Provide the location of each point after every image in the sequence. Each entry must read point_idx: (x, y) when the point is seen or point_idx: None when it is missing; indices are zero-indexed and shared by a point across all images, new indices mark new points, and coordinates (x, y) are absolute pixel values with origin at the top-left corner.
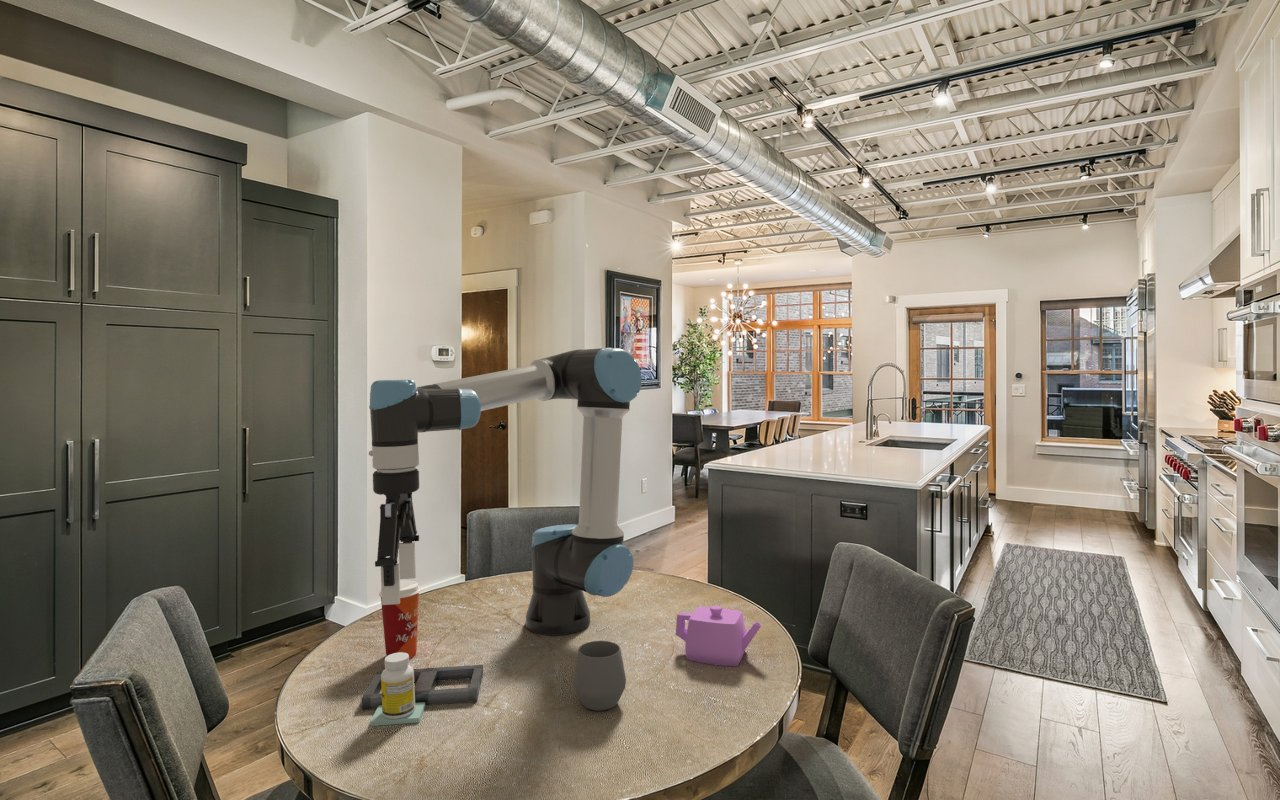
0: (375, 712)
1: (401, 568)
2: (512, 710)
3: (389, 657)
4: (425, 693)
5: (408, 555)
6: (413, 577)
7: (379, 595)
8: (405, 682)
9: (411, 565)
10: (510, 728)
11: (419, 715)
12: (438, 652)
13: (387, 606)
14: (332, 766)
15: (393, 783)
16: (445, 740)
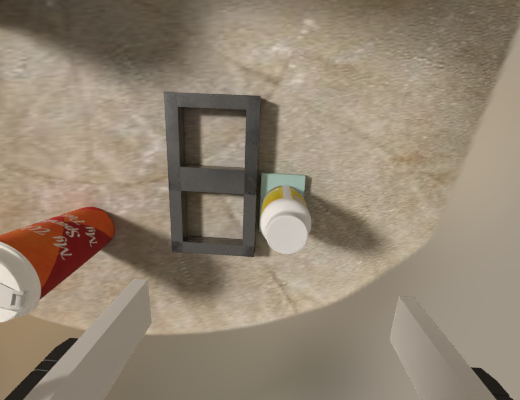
0: None
1: (131, 346)
2: (300, 37)
3: (285, 247)
4: (254, 175)
5: (97, 368)
6: (147, 286)
7: (23, 315)
8: (306, 207)
9: (122, 322)
10: (355, 38)
11: (298, 176)
12: (84, 174)
13: (50, 287)
14: (381, 256)
15: (442, 185)
16: (361, 134)
